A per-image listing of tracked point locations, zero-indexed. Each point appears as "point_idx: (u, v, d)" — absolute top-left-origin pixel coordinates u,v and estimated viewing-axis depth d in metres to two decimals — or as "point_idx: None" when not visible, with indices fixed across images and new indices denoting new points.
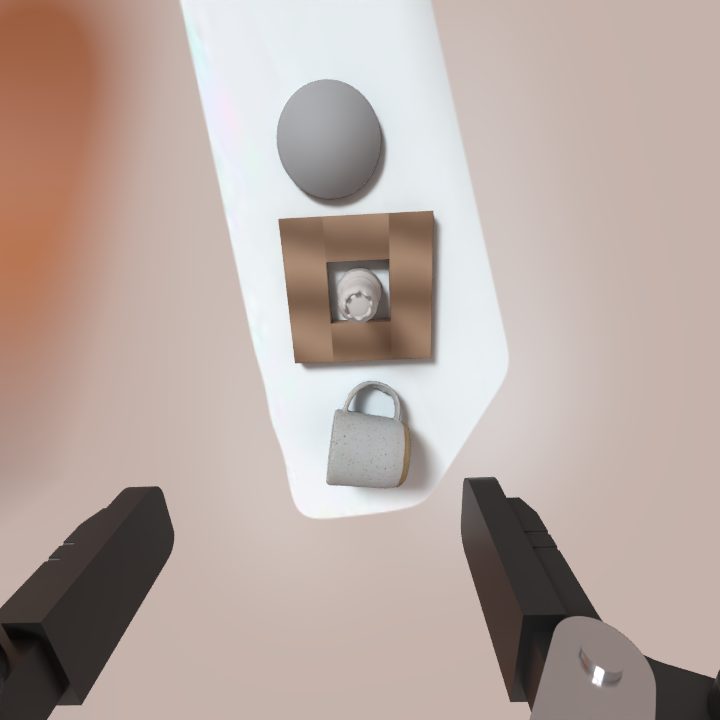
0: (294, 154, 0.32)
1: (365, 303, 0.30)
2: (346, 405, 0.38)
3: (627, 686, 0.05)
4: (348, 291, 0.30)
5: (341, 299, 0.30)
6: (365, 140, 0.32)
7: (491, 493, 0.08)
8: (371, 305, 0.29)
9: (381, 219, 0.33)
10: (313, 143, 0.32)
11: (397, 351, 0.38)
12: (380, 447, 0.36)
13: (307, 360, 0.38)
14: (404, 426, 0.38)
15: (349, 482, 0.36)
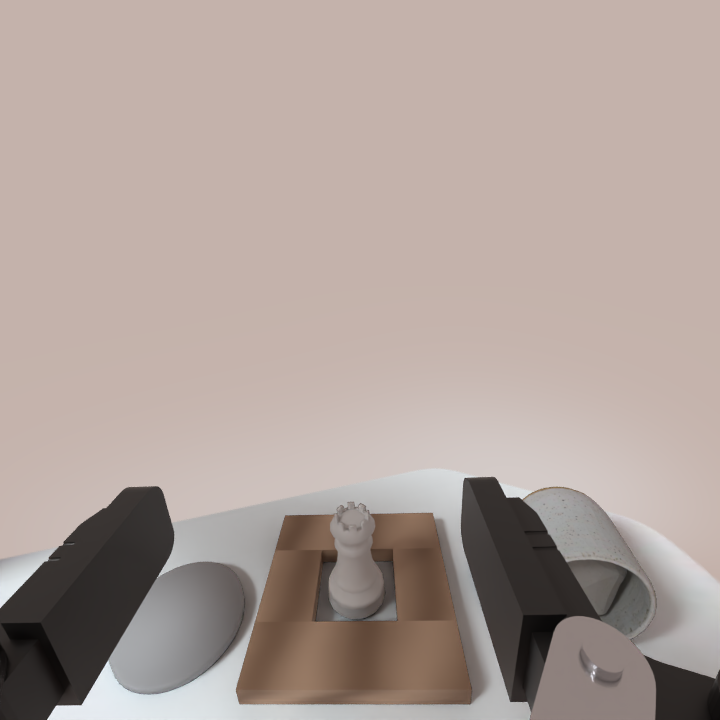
0: (169, 661, 0.24)
1: (350, 511, 0.27)
2: None
3: (627, 686, 0.05)
4: (335, 529, 0.26)
5: (344, 536, 0.25)
6: (198, 575, 0.30)
7: (491, 493, 0.08)
8: (352, 503, 0.27)
9: (279, 556, 0.31)
10: (171, 633, 0.26)
11: (429, 542, 0.32)
12: (537, 512, 0.28)
13: (462, 664, 0.23)
14: None
15: (614, 539, 0.24)
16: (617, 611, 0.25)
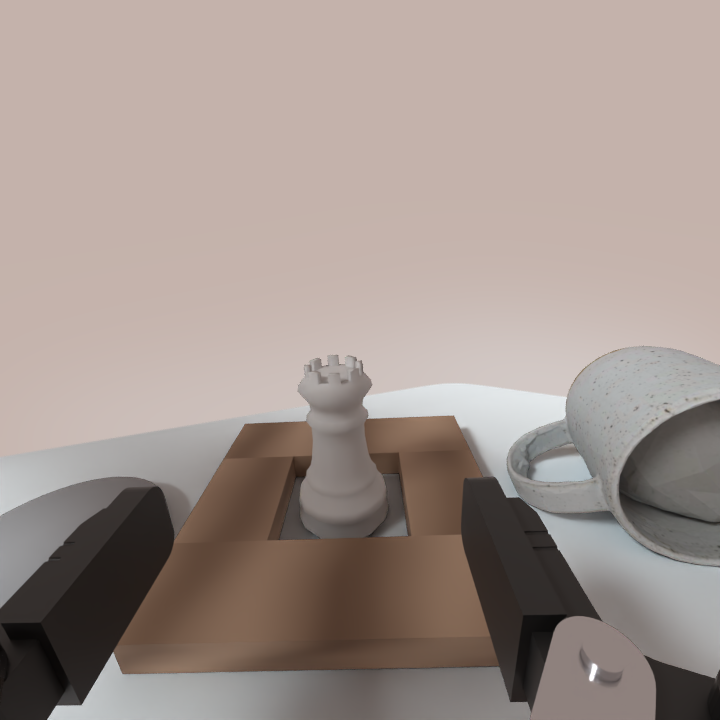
0: None
1: (331, 366, 0.17)
2: (582, 483, 0.16)
3: (627, 686, 0.05)
4: (306, 385, 0.15)
5: (319, 391, 0.15)
6: (103, 492, 0.20)
7: (491, 493, 0.08)
8: (334, 356, 0.17)
9: (228, 465, 0.20)
10: (32, 565, 0.15)
11: (452, 444, 0.21)
12: (613, 371, 0.18)
13: None
14: (566, 401, 0.21)
15: None
16: None
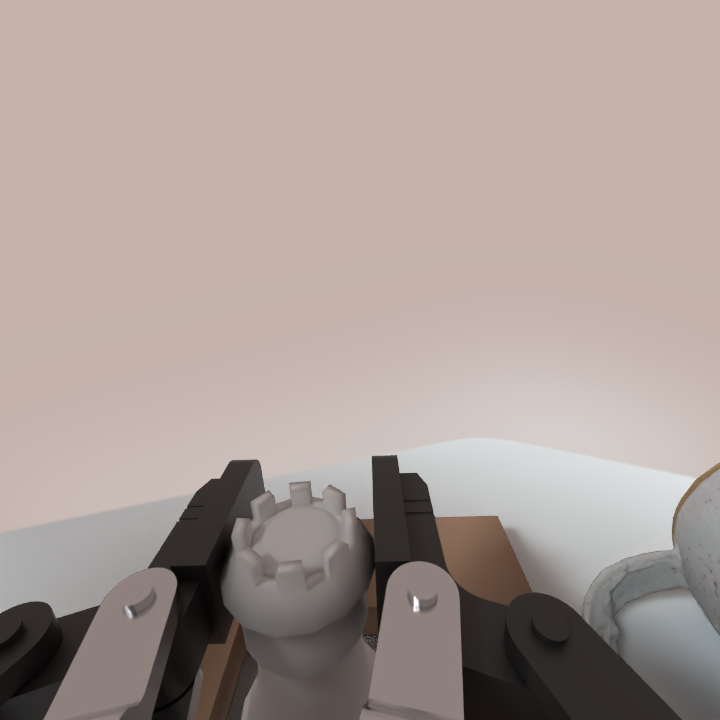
0: None
1: (295, 512, 0.08)
2: None
3: (434, 610, 0.06)
4: (234, 576, 0.07)
5: (256, 606, 0.07)
6: None
7: (387, 468, 0.09)
8: (302, 486, 0.09)
9: None
10: None
11: (505, 587, 0.13)
12: None
13: None
14: (675, 518, 0.13)
15: None
16: None
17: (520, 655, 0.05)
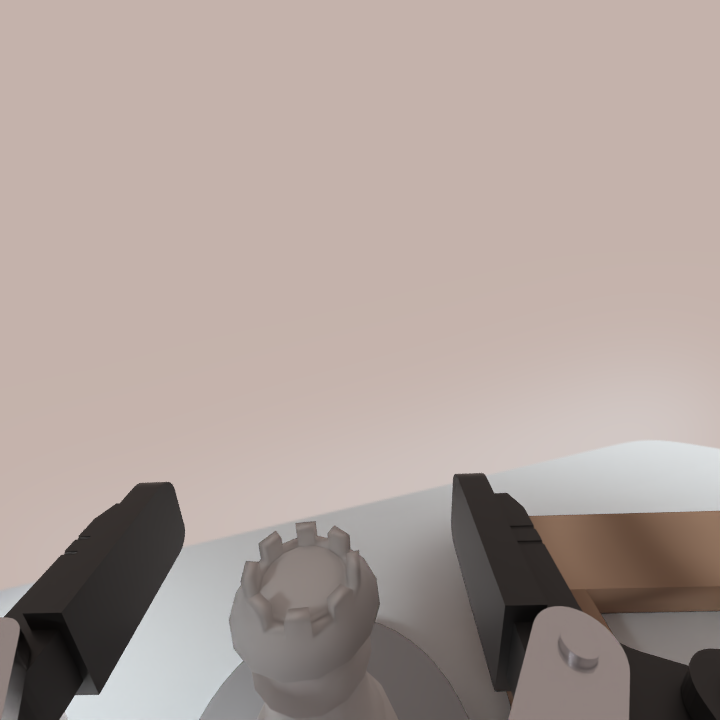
0: None
1: (301, 553, 0.09)
2: None
3: (602, 672, 0.05)
4: (243, 620, 0.07)
5: (266, 651, 0.07)
6: None
7: (479, 489, 0.09)
8: (308, 526, 0.09)
9: None
10: None
11: None
12: None
13: None
14: None
15: None
16: None
17: (706, 711, 0.05)
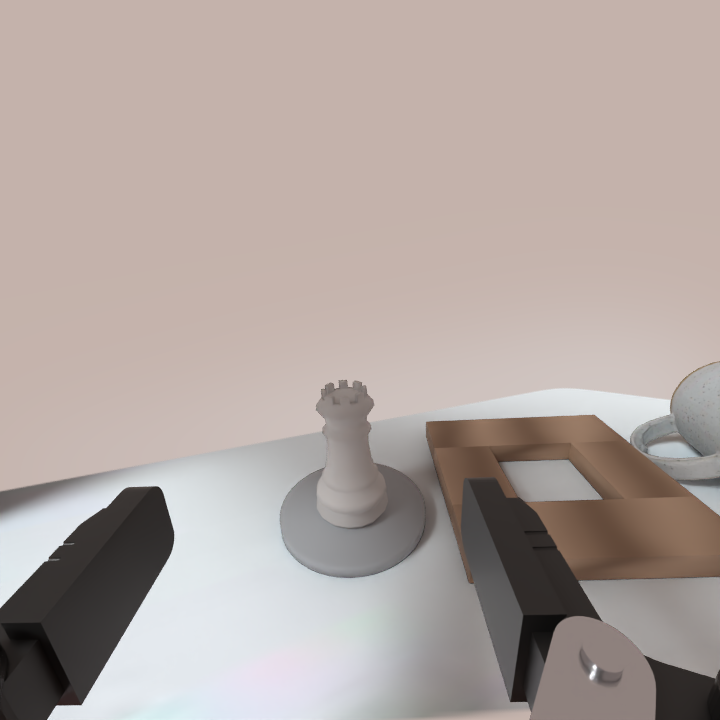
0: (365, 543, 0.20)
1: (342, 389, 0.21)
2: (707, 458, 0.23)
3: (627, 686, 0.05)
4: (323, 406, 0.20)
5: (333, 411, 0.19)
6: None
7: (491, 493, 0.08)
8: (344, 381, 0.21)
9: (443, 452, 0.27)
10: None
11: (609, 436, 0.28)
12: (719, 378, 0.25)
13: None
14: (671, 401, 0.28)
15: None
16: None
17: None
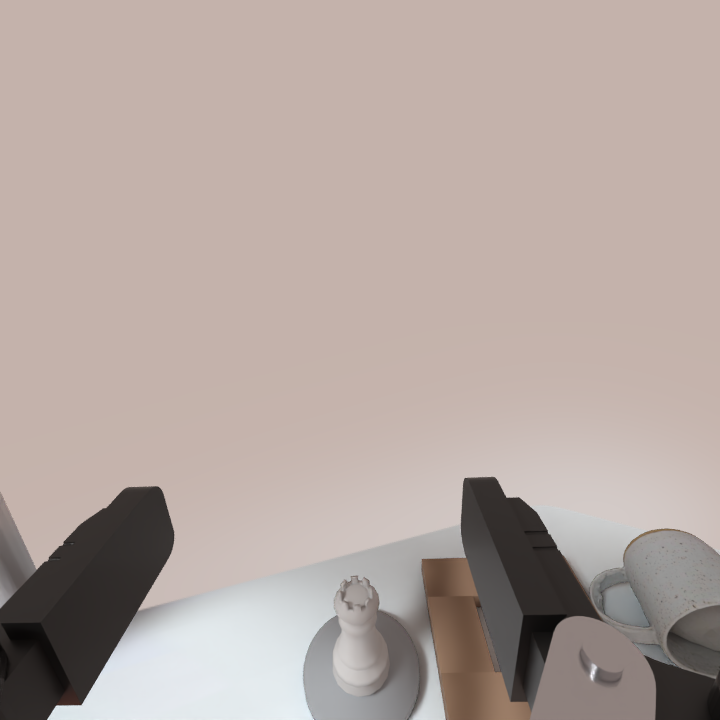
0: (372, 713, 0.26)
1: (354, 586, 0.27)
2: (644, 629, 0.29)
3: (627, 686, 0.05)
4: (339, 608, 0.26)
5: (348, 616, 0.25)
6: None
7: (491, 493, 0.08)
8: (355, 577, 0.27)
9: (435, 603, 0.33)
10: None
11: None
12: (658, 555, 0.30)
13: None
14: (624, 555, 0.34)
15: None
16: None
17: None
